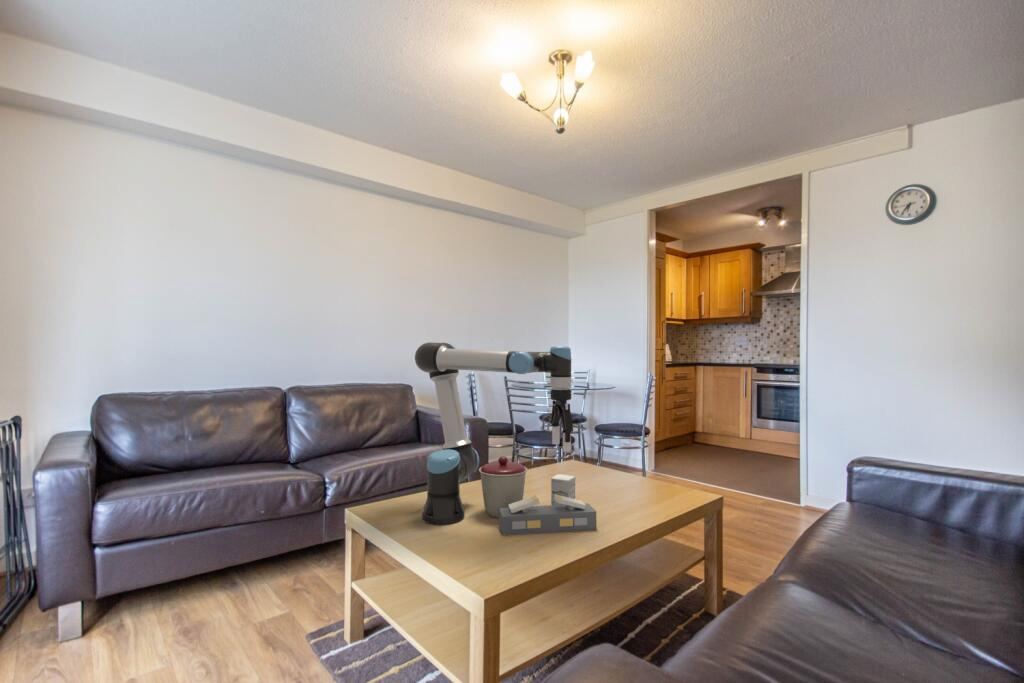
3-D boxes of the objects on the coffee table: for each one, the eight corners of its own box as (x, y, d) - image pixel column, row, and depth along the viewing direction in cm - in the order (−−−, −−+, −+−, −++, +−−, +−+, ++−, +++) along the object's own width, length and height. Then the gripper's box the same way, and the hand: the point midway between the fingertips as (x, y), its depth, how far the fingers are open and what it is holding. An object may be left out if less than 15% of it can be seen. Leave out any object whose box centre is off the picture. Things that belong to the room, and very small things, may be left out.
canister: (522, 523, 165) (522, 463, 166) (473, 520, 169) (472, 460, 170) (531, 507, 183) (530, 452, 184) (485, 504, 187) (485, 450, 187)
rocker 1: (511, 513, 158) (510, 508, 158) (509, 508, 163) (508, 504, 163) (539, 503, 159) (538, 499, 159) (536, 499, 164) (535, 494, 164)
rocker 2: (557, 502, 160) (558, 498, 160) (553, 498, 165) (555, 493, 165) (584, 509, 161) (586, 504, 161) (580, 504, 166) (581, 500, 166)
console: (502, 535, 155) (502, 512, 155) (499, 525, 164) (499, 503, 164) (596, 529, 159) (596, 507, 160) (588, 520, 168) (588, 499, 169)
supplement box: (550, 511, 178) (550, 477, 178) (558, 506, 184) (557, 473, 185) (569, 514, 174) (568, 480, 175) (576, 508, 181) (575, 475, 181)
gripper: (582, 391, 160) (582, 454, 160) (560, 386, 185) (561, 440, 184) (561, 391, 159) (561, 455, 158) (542, 386, 184) (542, 441, 183)
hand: (561, 447), depth 171 cm, fingers open, 13 cm apart
